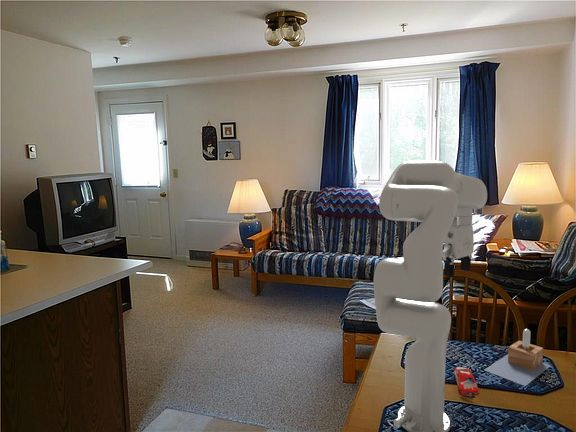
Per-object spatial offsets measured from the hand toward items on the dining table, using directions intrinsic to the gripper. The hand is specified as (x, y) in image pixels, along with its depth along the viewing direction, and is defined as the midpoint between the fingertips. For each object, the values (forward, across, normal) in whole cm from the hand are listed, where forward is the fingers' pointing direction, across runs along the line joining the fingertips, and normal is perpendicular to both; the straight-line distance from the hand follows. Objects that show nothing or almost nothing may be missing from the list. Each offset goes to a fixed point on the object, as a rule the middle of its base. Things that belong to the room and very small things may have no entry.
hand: (457, 273), depth 138 cm
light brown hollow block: (+27, +10, -18) cm, 34 cm away
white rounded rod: (+27, +10, -18) cm, 34 cm away
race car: (+29, -15, -12) cm, 34 cm away
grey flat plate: (+28, +5, -18) cm, 34 cm away
